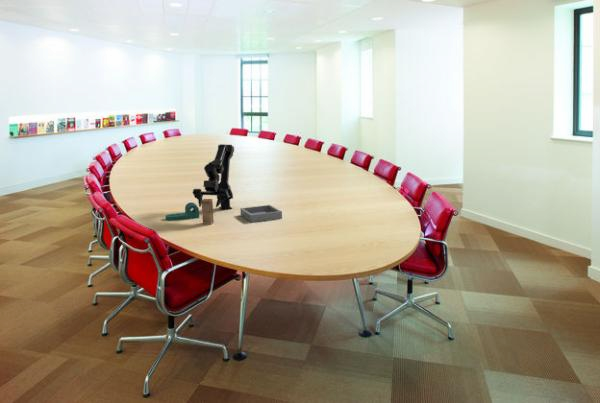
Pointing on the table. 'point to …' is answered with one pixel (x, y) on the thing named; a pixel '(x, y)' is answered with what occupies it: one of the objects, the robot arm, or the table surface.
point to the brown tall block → (207, 211)
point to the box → (261, 213)
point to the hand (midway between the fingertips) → (208, 206)
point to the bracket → (187, 214)
